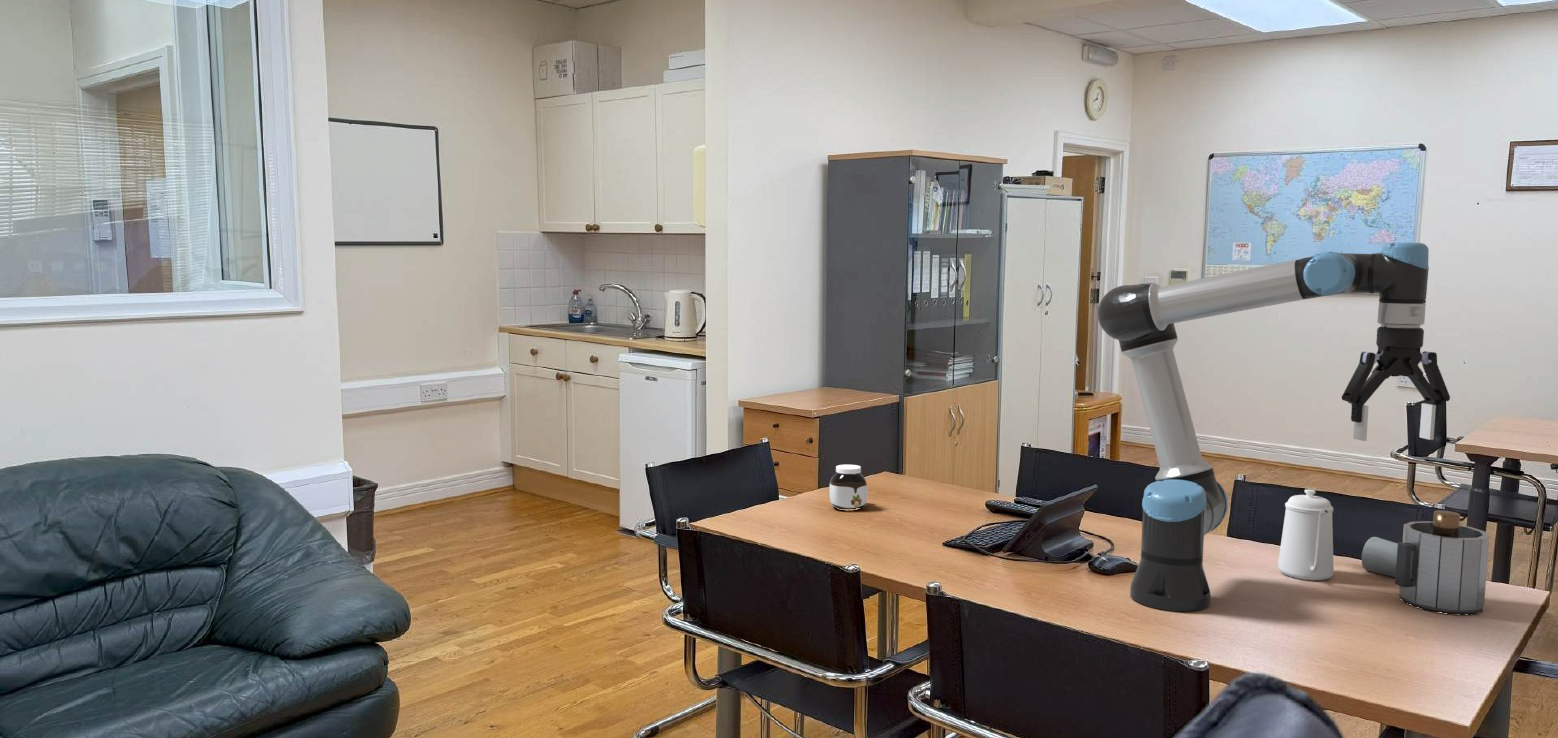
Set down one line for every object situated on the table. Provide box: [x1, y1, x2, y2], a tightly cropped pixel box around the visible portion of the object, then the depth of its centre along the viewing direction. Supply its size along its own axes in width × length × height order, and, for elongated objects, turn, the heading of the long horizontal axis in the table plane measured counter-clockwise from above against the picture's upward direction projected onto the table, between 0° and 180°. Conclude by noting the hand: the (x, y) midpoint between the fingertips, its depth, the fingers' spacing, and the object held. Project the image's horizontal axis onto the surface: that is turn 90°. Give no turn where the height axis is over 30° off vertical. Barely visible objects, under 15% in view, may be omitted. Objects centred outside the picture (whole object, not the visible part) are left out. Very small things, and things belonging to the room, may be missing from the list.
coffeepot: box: [1277, 489, 1335, 582], centre depth 228 cm, size 11×25×19 cm, turn 168°
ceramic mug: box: [1361, 536, 1399, 578], centre depth 231 cm, size 11×8×8 cm
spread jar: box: [828, 464, 869, 509], centre depth 290 cm, size 12×11×12 cm
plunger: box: [1432, 509, 1461, 538], centre depth 209 cm, size 10×10×15 cm
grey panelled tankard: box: [1394, 520, 1490, 616], centre depth 210 cm, size 16×14×15 cm
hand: (1393, 439), depth 198 cm, fingers open, 13 cm apart
